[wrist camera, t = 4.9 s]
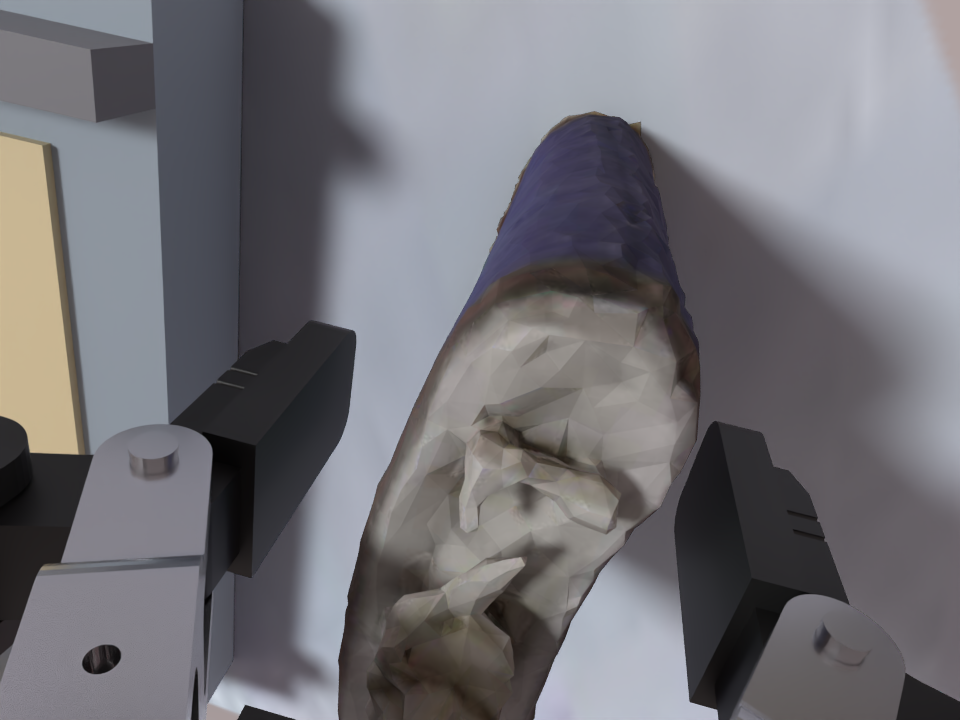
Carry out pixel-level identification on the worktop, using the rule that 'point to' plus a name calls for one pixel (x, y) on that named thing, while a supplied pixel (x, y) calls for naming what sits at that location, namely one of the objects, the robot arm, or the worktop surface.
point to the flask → (527, 442)
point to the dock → (119, 222)
